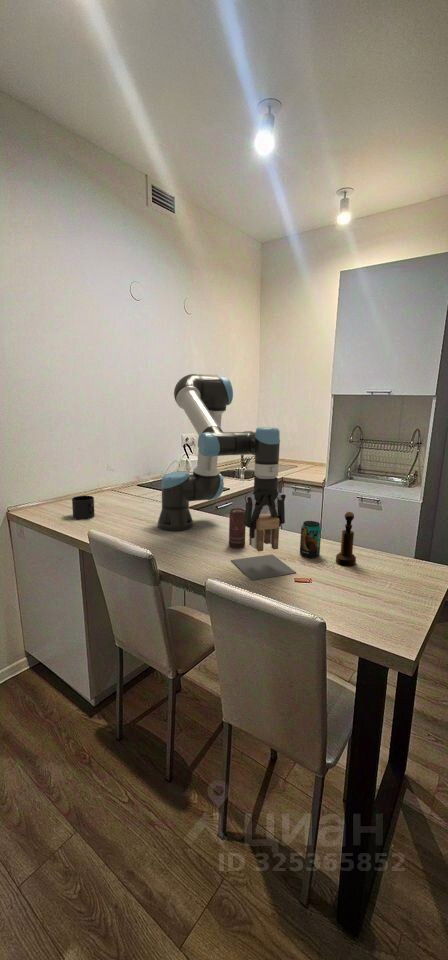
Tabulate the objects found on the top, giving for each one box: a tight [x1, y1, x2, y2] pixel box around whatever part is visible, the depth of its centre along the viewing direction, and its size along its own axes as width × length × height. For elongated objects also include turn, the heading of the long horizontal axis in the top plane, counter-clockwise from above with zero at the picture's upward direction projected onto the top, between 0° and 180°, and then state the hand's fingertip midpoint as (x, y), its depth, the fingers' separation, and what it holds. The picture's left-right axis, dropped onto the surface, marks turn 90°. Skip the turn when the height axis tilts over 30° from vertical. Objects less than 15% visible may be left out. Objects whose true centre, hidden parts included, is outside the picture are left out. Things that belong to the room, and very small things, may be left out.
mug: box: [71, 495, 96, 520], centre depth 181 cm, size 9×12×9 cm
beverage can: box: [299, 520, 322, 559], centre depth 141 cm, size 7×7×12 cm
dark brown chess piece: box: [335, 511, 357, 567], centre depth 134 cm, size 7×6×18 cm
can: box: [228, 508, 247, 549], centre depth 149 cm, size 6×6×14 cm
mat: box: [230, 553, 297, 581], centre depth 131 cm, size 16×16×1 cm
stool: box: [248, 513, 280, 552], centre depth 128 cm, size 7×7×10 cm
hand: (263, 545), depth 129 cm, fingers closed on stool, 6 cm apart
